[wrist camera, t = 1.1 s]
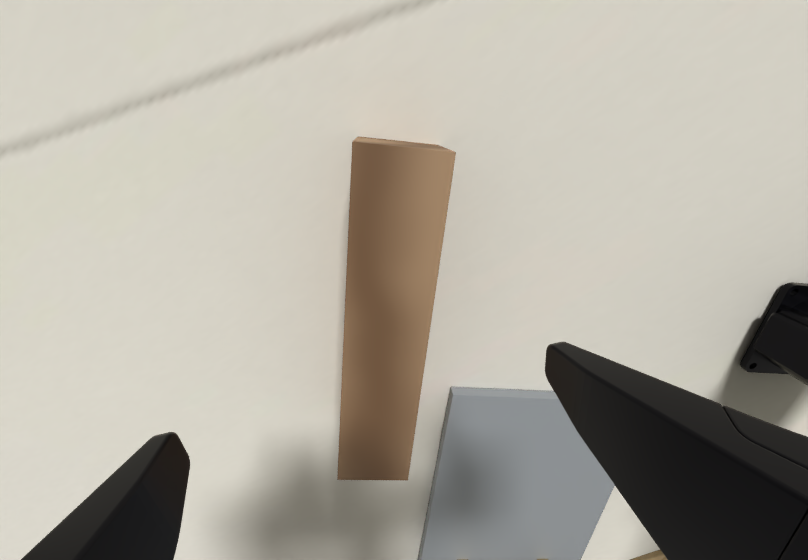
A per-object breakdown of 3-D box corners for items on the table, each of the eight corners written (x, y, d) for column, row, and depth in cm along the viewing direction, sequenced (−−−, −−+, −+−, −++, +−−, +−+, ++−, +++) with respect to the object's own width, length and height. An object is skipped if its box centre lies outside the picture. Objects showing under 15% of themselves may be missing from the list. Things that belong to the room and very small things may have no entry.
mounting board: (644, 394, 26) (652, 402, 26) (555, 595, 36) (559, 605, 35) (450, 386, 25) (453, 394, 24) (410, 598, 34) (411, 608, 33)
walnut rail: (436, 144, 19) (455, 152, 15) (401, 416, 26) (407, 480, 21) (358, 136, 19) (352, 141, 14) (344, 415, 26) (337, 479, 21)
